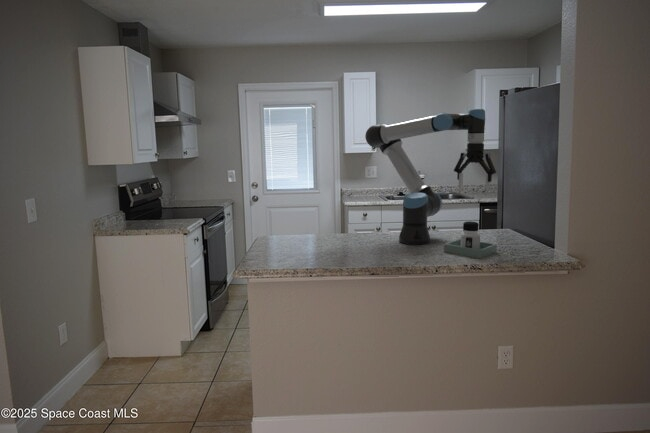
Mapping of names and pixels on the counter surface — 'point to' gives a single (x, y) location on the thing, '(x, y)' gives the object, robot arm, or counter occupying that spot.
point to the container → (470, 235)
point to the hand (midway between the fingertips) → (473, 187)
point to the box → (470, 249)
